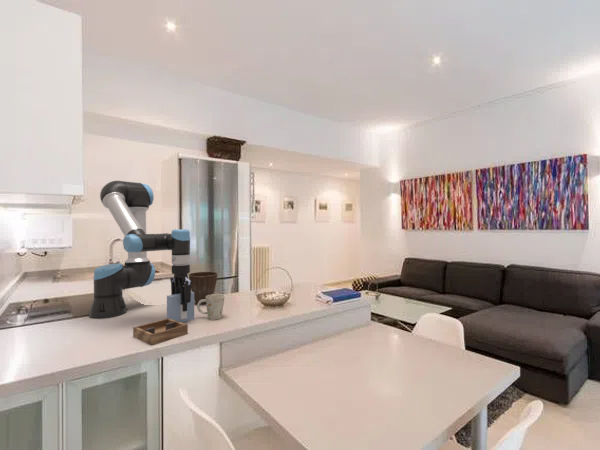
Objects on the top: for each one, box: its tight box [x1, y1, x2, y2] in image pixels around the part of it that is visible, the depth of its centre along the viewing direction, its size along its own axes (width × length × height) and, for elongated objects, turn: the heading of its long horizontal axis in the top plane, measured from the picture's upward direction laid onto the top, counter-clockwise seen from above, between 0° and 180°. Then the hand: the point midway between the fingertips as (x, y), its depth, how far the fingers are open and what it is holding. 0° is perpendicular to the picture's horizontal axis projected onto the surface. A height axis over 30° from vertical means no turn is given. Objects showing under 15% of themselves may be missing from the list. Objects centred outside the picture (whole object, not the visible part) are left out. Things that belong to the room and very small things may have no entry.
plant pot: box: [188, 271, 218, 306], centre depth 163 cm, size 15×15×16 cm
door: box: [166, 291, 195, 323], centre depth 132 cm, size 4×11×12 cm, turn 143°
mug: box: [196, 293, 225, 321], centre depth 137 cm, size 8×13×10 cm, turn 89°
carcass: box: [132, 317, 189, 346], centre depth 115 cm, size 14×14×4 cm
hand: (180, 317), depth 132 cm, fingers closed on door, 3 cm apart
